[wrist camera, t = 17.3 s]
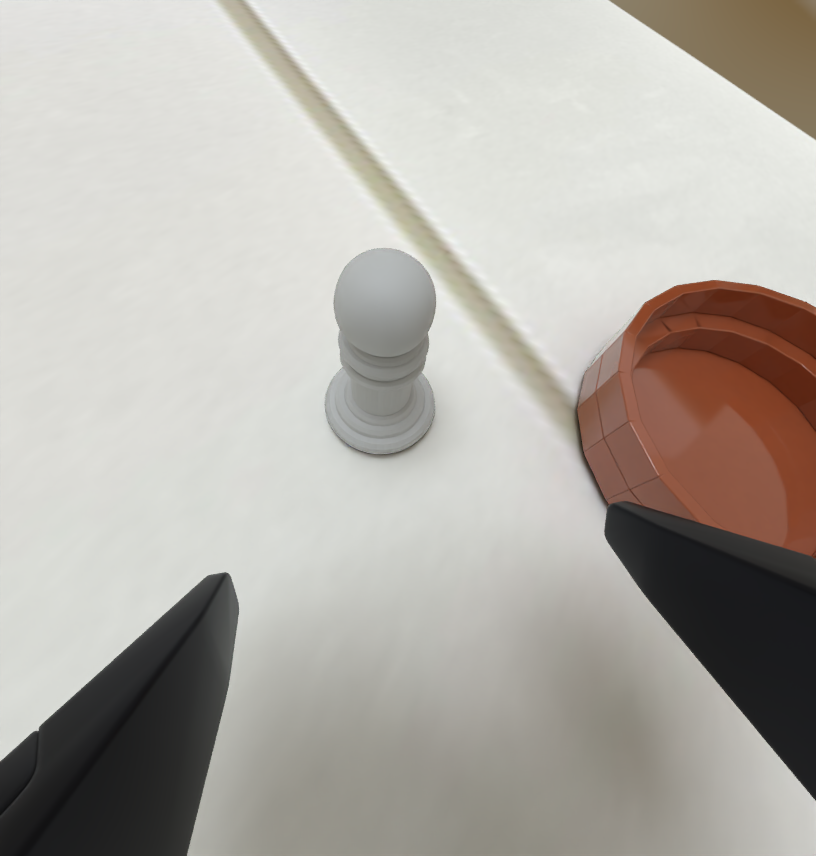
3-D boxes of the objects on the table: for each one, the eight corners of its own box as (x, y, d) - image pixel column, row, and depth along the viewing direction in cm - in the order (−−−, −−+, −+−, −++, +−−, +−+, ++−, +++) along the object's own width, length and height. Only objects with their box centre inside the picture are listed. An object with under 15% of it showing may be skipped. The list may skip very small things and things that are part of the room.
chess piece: (415, 472, 18) (455, 361, 10) (308, 437, 18) (259, 300, 10) (444, 380, 20) (496, 228, 12) (349, 350, 20) (335, 181, 12)
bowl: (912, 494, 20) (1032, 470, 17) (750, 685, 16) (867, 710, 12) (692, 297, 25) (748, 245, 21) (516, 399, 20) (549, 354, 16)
